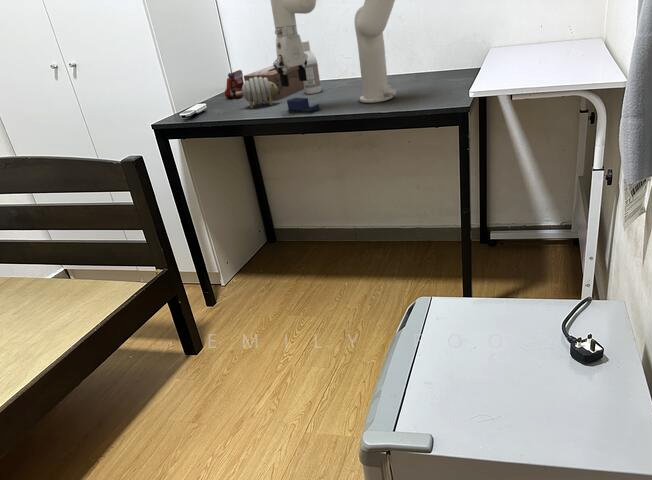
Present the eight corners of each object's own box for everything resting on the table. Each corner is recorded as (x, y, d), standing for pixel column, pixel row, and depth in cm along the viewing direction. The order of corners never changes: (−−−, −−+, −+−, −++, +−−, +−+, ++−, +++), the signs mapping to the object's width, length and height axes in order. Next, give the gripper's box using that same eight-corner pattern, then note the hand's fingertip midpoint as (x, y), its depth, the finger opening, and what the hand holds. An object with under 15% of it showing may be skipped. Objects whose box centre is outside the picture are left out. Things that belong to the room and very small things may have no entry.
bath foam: (322, 92, 233) (315, 40, 223) (306, 95, 232) (298, 43, 222) (319, 89, 239) (312, 39, 228) (304, 92, 238) (295, 41, 227)
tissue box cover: (281, 87, 255) (277, 63, 250) (308, 86, 249) (304, 62, 244) (248, 100, 236) (243, 75, 231) (276, 100, 230) (272, 74, 225)
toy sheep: (282, 104, 220) (277, 75, 215) (240, 112, 217) (233, 82, 212) (278, 100, 229) (273, 71, 224) (238, 107, 226) (231, 78, 221)
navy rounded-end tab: (319, 109, 205) (318, 98, 203) (311, 113, 202) (309, 101, 200) (294, 108, 212) (292, 97, 210) (286, 111, 209) (284, 100, 206)
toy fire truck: (223, 100, 243) (217, 75, 238) (239, 93, 253) (233, 69, 248) (236, 99, 241) (230, 74, 235) (251, 93, 250) (246, 68, 245)
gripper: (277, 35, 186) (286, 88, 195) (310, 28, 197) (317, 78, 206) (261, 35, 190) (270, 88, 199) (294, 28, 201) (302, 78, 210)
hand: (294, 83), depth 202 cm, fingers open, 9 cm apart
